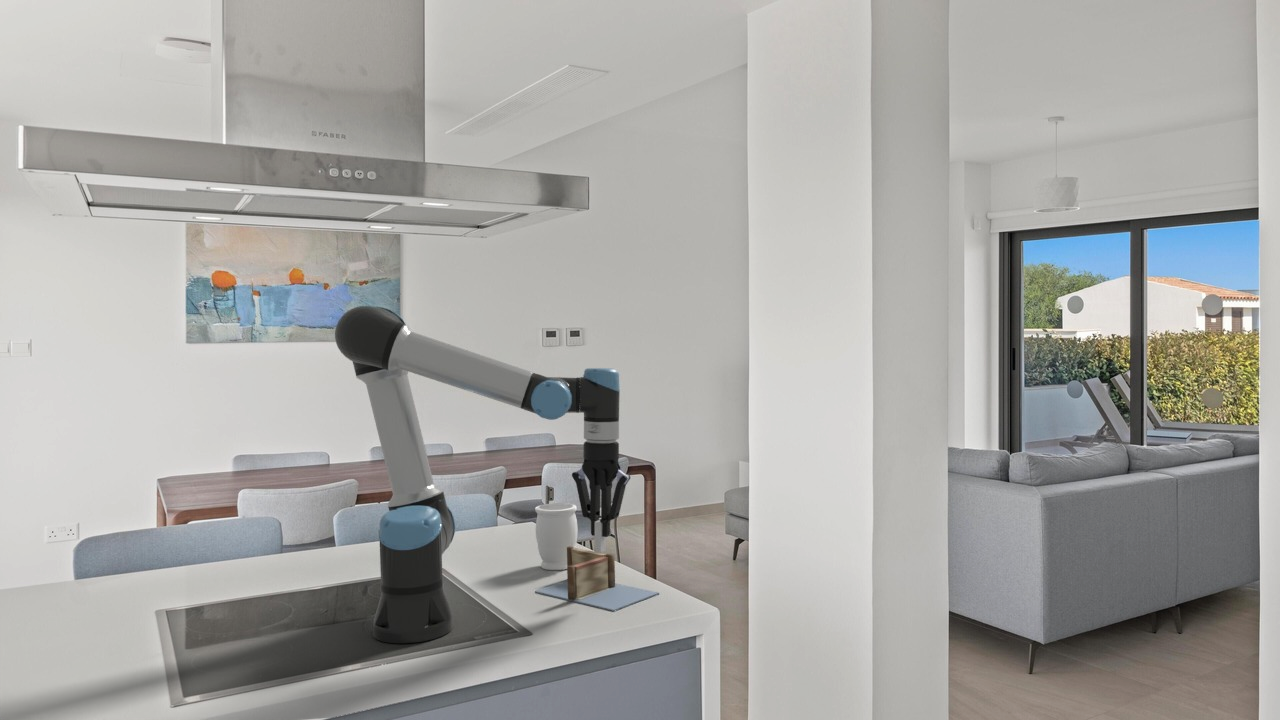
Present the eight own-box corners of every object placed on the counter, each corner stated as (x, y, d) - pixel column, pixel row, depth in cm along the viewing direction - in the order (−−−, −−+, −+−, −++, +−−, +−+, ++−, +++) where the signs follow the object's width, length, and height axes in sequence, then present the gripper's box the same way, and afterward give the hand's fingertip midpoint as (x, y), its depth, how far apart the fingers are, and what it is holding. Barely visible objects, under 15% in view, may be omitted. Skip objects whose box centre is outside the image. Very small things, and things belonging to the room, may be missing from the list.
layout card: (535, 592, 195) (535, 590, 195) (581, 577, 206) (581, 575, 206) (614, 611, 180) (614, 609, 180) (659, 594, 191) (659, 592, 191)
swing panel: (603, 586, 196) (602, 555, 196) (608, 587, 195) (608, 556, 195) (566, 598, 187) (565, 566, 187) (571, 600, 186) (570, 567, 186)
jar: (572, 572, 211) (571, 510, 210) (531, 571, 212) (529, 510, 212) (582, 561, 221) (581, 502, 221) (543, 560, 223) (541, 502, 222)
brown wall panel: (565, 579, 205) (564, 547, 204) (571, 577, 206) (570, 546, 206) (611, 589, 196) (610, 556, 195) (617, 587, 197) (616, 554, 197)
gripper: (565, 440, 184) (564, 552, 185) (622, 444, 179) (621, 558, 180) (581, 437, 191) (580, 544, 192) (636, 440, 186) (635, 550, 187)
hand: (600, 551), depth 186 cm, fingers closed
